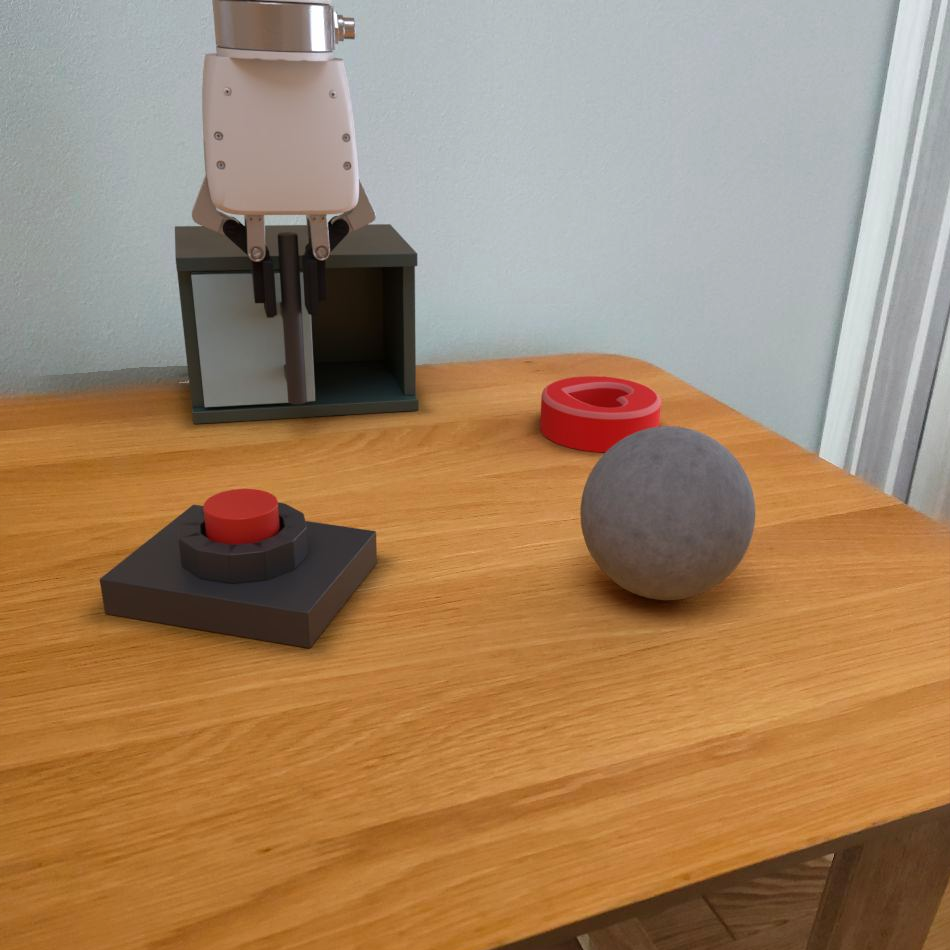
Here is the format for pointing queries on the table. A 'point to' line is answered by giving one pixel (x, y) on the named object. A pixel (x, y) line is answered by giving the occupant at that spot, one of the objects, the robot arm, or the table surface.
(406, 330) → the cabinet
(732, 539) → the decorative ball
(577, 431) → the decorative ornament
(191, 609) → the button box
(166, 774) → the table surface
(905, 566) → the table surface
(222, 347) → the glass door
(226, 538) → the button
